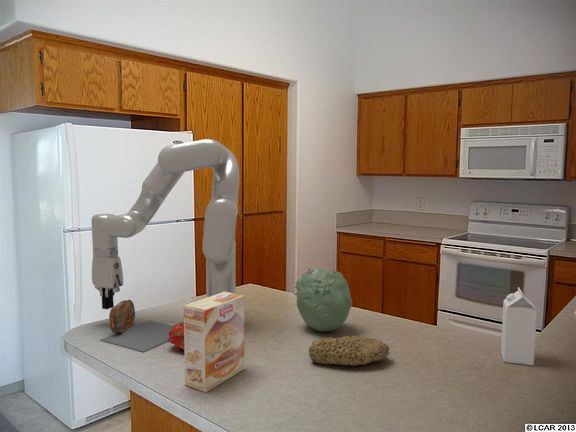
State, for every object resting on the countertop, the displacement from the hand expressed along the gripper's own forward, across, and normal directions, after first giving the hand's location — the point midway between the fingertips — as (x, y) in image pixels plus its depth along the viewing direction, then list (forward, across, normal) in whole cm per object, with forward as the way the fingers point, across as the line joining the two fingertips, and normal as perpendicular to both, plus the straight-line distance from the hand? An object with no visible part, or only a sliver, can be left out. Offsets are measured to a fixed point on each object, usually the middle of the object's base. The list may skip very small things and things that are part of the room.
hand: (107, 307), depth 148 cm
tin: (+6, -7, 0) cm, 9 cm away
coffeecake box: (+6, -54, +12) cm, 55 cm away
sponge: (+7, -79, -13) cm, 80 cm away
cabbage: (+6, -63, -31) cm, 70 cm away
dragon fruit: (+6, -36, +2) cm, 36 cm away
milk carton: (+6, -118, -36) cm, 123 cm away
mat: (+6, -18, 0) cm, 19 cm away
